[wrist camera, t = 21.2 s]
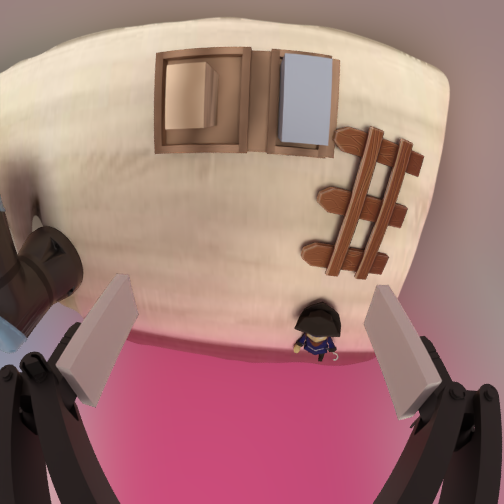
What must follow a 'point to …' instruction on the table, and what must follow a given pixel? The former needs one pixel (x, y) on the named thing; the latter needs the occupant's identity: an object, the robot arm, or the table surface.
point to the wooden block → (191, 96)
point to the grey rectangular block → (305, 99)
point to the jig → (238, 104)
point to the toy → (318, 329)
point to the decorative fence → (364, 202)
